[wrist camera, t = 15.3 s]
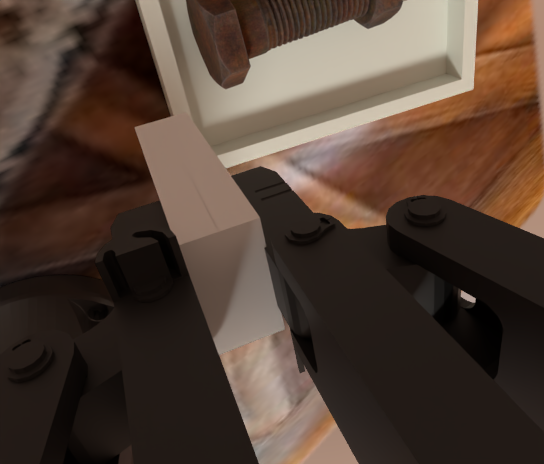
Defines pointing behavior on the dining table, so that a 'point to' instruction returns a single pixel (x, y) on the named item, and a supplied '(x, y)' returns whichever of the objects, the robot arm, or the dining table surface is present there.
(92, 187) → the dining table surface
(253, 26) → the bolt
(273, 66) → the tray
